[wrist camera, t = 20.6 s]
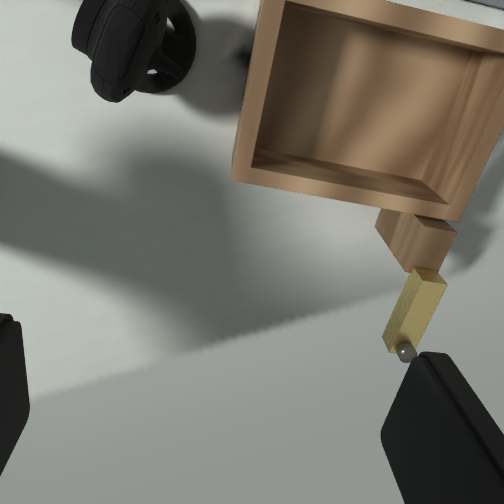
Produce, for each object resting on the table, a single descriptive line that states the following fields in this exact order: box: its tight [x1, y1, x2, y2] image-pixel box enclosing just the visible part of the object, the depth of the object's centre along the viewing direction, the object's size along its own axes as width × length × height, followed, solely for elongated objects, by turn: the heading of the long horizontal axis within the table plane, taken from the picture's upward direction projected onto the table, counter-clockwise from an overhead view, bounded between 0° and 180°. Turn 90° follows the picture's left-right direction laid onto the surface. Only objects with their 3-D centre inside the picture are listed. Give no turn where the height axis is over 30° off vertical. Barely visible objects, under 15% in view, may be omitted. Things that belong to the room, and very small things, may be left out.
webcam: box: [71, 0, 196, 103], centre depth 28 cm, size 8×8×10 cm
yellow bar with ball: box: [382, 267, 447, 363], centre depth 33 cm, size 2×7×3 cm, turn 168°
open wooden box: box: [231, 0, 504, 273], centre depth 32 cm, size 18×17×8 cm
